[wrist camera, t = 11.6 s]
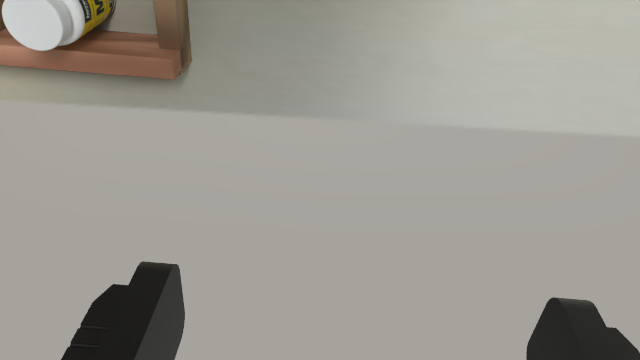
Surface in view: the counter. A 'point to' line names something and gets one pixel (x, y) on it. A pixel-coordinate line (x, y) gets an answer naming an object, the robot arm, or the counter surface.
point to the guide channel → (114, 48)
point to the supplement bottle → (53, 20)
